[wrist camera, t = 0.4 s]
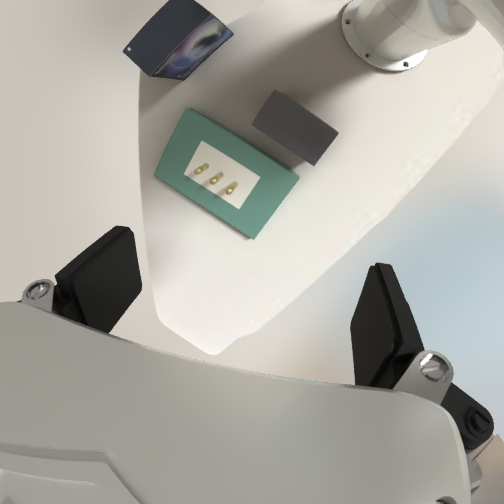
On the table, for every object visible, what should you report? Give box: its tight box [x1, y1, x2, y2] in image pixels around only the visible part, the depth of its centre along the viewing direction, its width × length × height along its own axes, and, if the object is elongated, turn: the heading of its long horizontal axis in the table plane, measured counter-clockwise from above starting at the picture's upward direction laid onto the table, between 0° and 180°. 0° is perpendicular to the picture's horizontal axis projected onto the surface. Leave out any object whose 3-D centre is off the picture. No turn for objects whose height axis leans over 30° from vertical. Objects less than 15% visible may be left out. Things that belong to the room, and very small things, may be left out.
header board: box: [154, 108, 299, 240], centre depth 40 cm, size 12×19×2 cm, turn 58°
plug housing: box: [252, 90, 339, 166], centre depth 33 cm, size 5×9×6 cm, turn 58°
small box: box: [123, 0, 234, 80], centre depth 27 cm, size 11×6×10 cm, turn 132°
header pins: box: [194, 163, 238, 195], centre depth 38 cm, size 1×6×4 cm, turn 58°
